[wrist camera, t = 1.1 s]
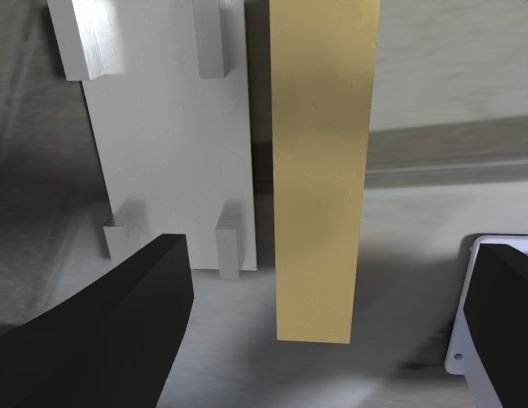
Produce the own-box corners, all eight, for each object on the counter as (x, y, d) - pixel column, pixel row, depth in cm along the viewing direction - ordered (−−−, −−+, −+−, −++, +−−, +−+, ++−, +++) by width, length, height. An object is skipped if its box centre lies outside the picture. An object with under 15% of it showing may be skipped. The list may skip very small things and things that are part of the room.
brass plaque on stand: (339, 259, 22) (349, 343, 17) (284, 257, 22) (277, 340, 17) (357, -12, 16) (381, -12, 11) (281, -9, 16) (269, -9, 11)
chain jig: (257, 266, 23) (253, 288, 21) (127, 262, 23) (113, 283, 22) (243, -22, 16) (236, -24, 15) (64, -15, 17) (37, -16, 15)
